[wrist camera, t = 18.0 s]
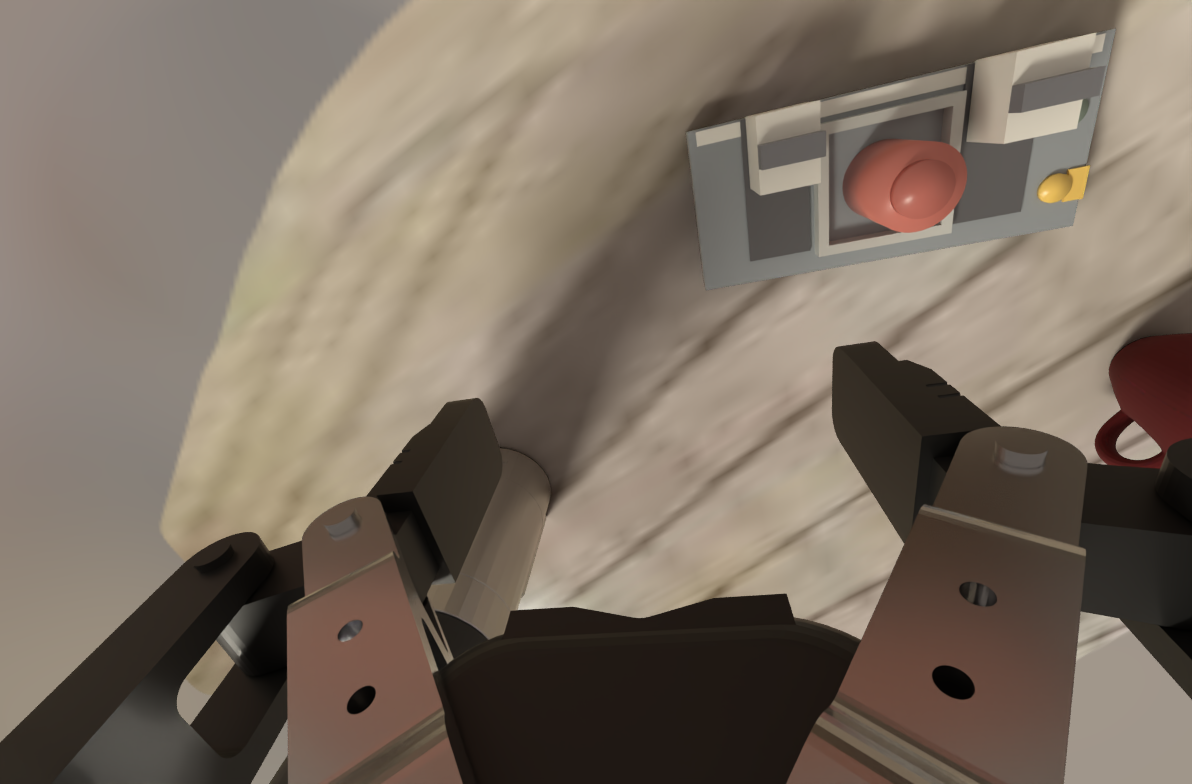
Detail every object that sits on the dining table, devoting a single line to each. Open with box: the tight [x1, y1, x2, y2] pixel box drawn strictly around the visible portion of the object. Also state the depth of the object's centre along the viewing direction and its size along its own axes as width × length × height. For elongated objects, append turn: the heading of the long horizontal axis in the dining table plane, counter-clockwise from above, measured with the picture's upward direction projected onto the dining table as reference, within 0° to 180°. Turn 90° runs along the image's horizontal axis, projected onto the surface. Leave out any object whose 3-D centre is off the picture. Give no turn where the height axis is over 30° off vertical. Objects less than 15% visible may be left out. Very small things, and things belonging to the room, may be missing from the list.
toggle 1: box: [745, 100, 826, 196], centre depth 27 cm, size 4×3×4 cm
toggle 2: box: [966, 33, 1106, 144], centre depth 25 cm, size 4×3×4 cm
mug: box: [1095, 333, 1192, 469], centre depth 31 cm, size 10×8×10 cm
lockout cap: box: [842, 139, 967, 233], centre depth 27 cm, size 4×4×6 cm
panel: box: [686, 29, 1116, 290], centre depth 30 cm, size 10×22×3 cm, turn 103°
